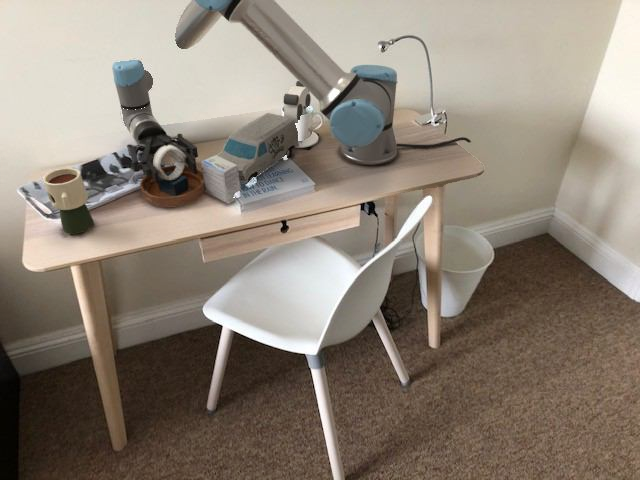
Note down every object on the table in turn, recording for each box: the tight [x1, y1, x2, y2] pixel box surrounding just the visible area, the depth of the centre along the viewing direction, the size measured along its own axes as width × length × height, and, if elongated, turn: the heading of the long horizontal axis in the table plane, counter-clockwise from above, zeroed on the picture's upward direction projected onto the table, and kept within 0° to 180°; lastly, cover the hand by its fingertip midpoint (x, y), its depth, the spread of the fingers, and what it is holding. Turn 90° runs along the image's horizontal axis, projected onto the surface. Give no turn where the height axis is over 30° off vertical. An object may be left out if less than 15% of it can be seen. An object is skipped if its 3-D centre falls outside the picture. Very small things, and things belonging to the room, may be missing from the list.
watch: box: [152, 145, 189, 196], centre depth 122 cm, size 6×8×11 cm
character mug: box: [42, 167, 95, 235], centre depth 109 cm, size 11×7×13 cm, turn 20°
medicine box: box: [201, 154, 242, 205], centre depth 121 cm, size 8×4×9 cm, turn 50°
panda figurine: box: [283, 80, 319, 149], centre depth 143 cm, size 12×11×15 cm
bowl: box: [139, 164, 207, 208], centre depth 124 cm, size 15×15×3 cm
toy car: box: [216, 112, 299, 185], centre depth 133 cm, size 11×25×10 cm, turn 150°
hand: (176, 173), depth 118 cm, fingers closed on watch, 8 cm apart
